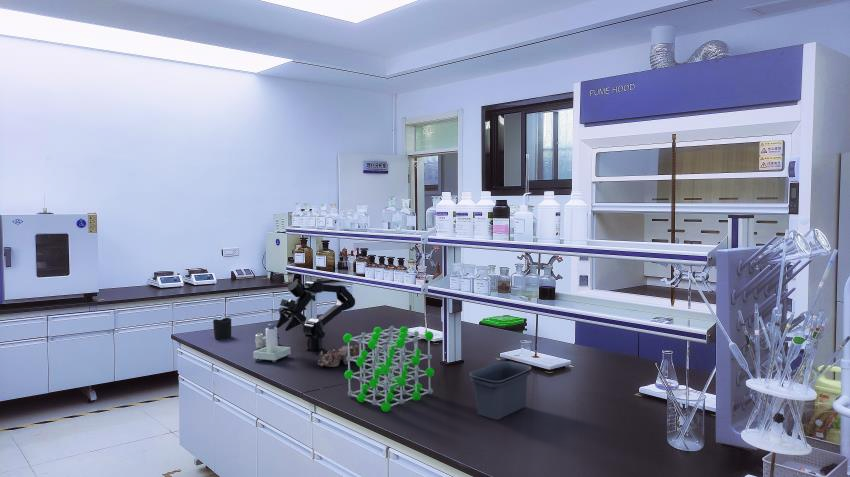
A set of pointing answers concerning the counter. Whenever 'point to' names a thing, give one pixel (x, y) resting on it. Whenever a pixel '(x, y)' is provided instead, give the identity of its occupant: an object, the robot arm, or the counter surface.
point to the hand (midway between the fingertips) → (281, 329)
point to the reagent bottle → (271, 339)
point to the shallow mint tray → (271, 354)
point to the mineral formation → (337, 356)
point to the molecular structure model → (388, 365)
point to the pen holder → (222, 328)
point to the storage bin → (500, 388)
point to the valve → (261, 340)
